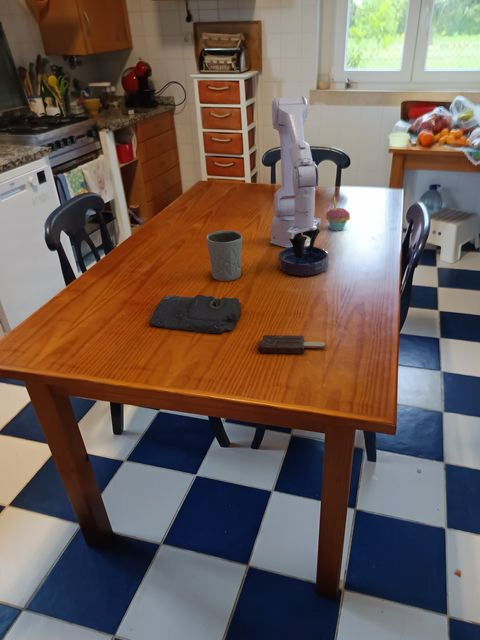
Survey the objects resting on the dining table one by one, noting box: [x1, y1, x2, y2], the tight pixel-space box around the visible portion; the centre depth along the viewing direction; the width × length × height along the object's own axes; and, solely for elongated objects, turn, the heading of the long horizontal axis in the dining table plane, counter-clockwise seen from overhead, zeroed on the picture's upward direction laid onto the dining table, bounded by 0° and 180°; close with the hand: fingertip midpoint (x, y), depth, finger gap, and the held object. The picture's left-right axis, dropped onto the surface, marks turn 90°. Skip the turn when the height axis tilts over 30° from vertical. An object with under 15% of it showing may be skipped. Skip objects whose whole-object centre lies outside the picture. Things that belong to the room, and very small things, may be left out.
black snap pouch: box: [149, 294, 242, 335], centre depth 123 cm, size 15×22×5 cm
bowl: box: [278, 245, 329, 277], centre depth 147 cm, size 15×15×4 cm
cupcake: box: [325, 195, 351, 231], centre depth 172 cm, size 9×8×12 cm
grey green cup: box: [205, 230, 243, 282], centre depth 141 cm, size 10×10×12 cm
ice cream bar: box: [258, 334, 326, 355], centre depth 110 cm, size 5×2×15 cm
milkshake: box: [296, 234, 311, 264], centre depth 145 cm, size 4×5×10 cm
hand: (303, 254), depth 146 cm, fingers closed on milkshake, 4 cm apart
